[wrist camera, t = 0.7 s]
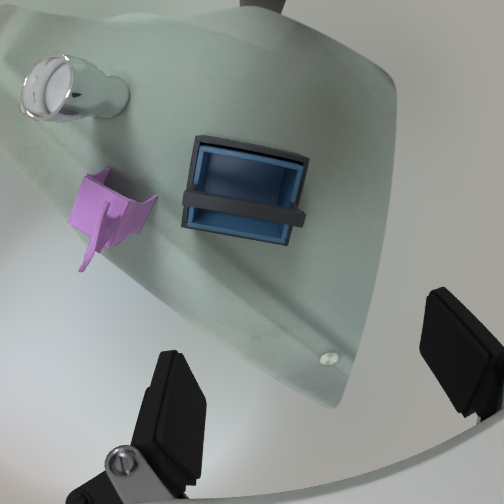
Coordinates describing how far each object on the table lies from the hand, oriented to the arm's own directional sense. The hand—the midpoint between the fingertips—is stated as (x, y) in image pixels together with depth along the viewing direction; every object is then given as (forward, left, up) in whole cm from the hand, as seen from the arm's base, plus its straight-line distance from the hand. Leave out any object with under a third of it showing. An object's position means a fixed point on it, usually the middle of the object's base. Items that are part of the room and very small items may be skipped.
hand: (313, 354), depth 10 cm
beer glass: (-10, -22, -30) cm, 39 cm away
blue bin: (-1, -2, -29) cm, 29 cm away
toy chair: (+4, -18, -30) cm, 36 cm away
